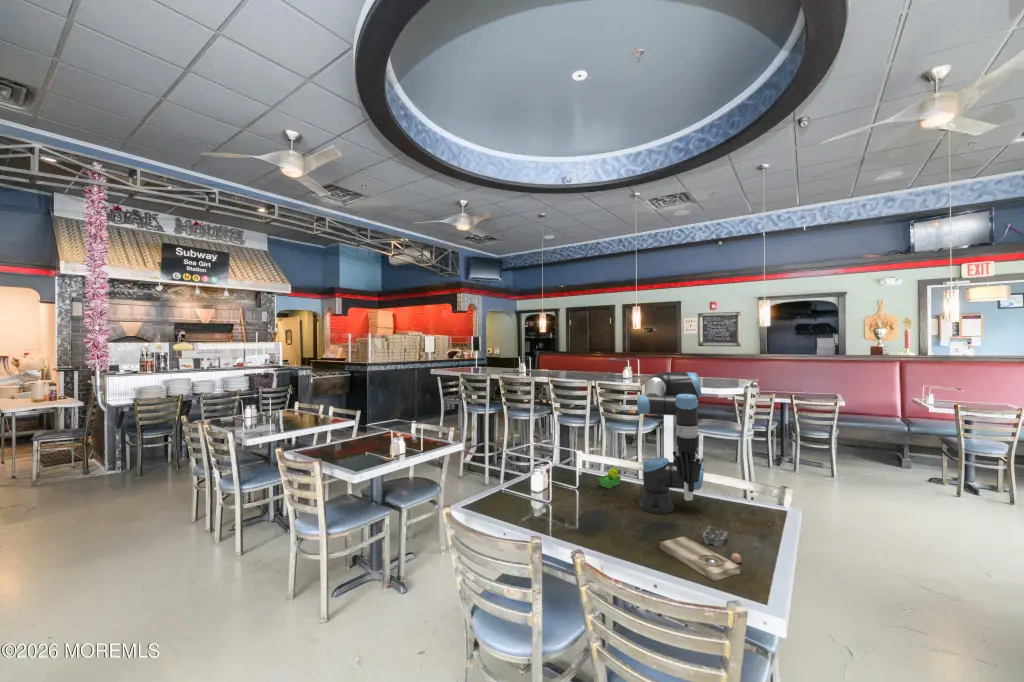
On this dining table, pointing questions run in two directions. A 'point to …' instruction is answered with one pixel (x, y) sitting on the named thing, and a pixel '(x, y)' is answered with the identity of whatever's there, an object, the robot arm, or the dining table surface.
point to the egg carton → (714, 536)
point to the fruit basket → (610, 478)
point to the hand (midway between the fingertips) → (688, 499)
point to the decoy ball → (736, 558)
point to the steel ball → (712, 561)
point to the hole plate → (700, 558)
